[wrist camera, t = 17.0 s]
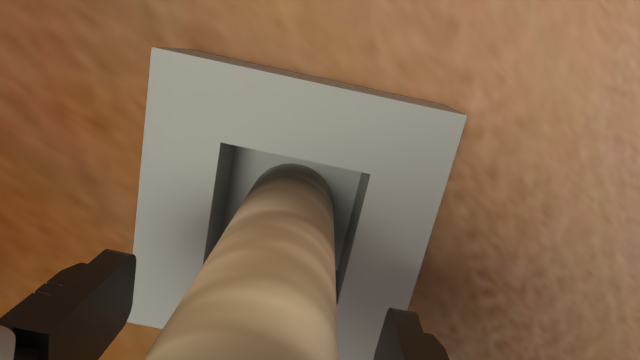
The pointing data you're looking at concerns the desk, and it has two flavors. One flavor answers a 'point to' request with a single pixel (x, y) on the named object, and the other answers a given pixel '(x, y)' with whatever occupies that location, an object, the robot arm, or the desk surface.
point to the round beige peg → (264, 279)
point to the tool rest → (281, 148)
